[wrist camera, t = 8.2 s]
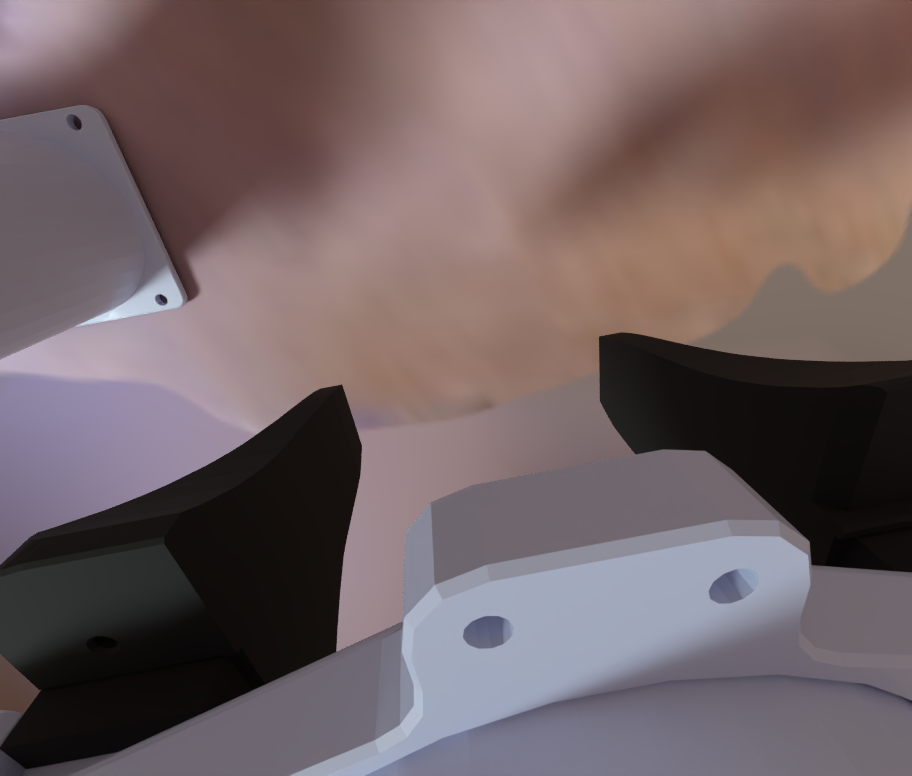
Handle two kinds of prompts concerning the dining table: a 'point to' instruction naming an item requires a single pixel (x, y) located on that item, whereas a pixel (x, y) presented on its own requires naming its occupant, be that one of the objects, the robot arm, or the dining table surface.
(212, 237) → the dining table surface
